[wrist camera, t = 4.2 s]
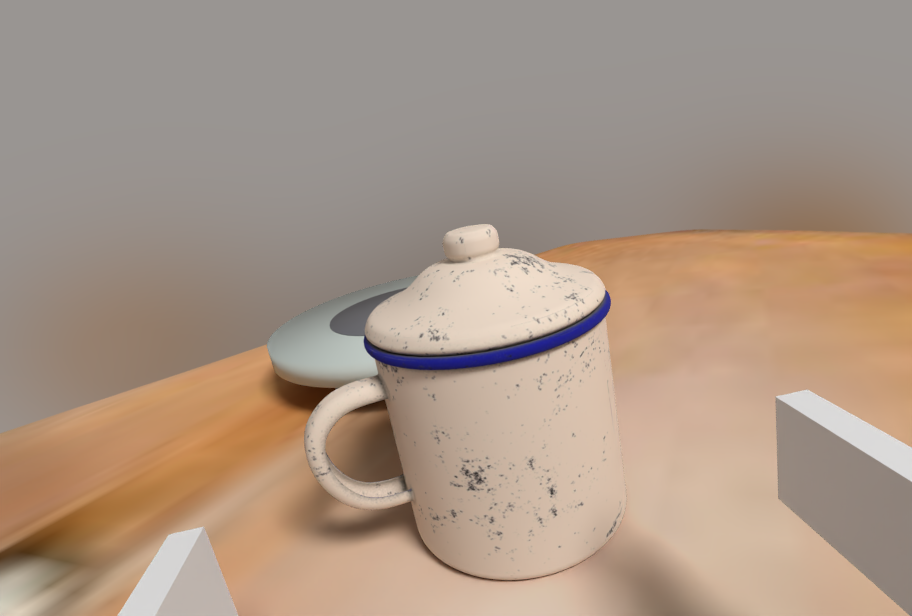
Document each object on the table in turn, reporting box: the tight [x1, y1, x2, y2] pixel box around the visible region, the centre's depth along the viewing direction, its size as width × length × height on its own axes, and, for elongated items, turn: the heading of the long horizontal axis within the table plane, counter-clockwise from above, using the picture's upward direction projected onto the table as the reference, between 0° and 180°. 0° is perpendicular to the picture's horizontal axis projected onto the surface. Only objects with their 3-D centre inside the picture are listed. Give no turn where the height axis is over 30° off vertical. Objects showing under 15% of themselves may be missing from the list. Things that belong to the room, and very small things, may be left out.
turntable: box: [267, 276, 418, 388], centre depth 40 cm, size 21×21×2 cm
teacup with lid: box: [304, 224, 627, 580], centre depth 20 cm, size 12×9×12 cm
